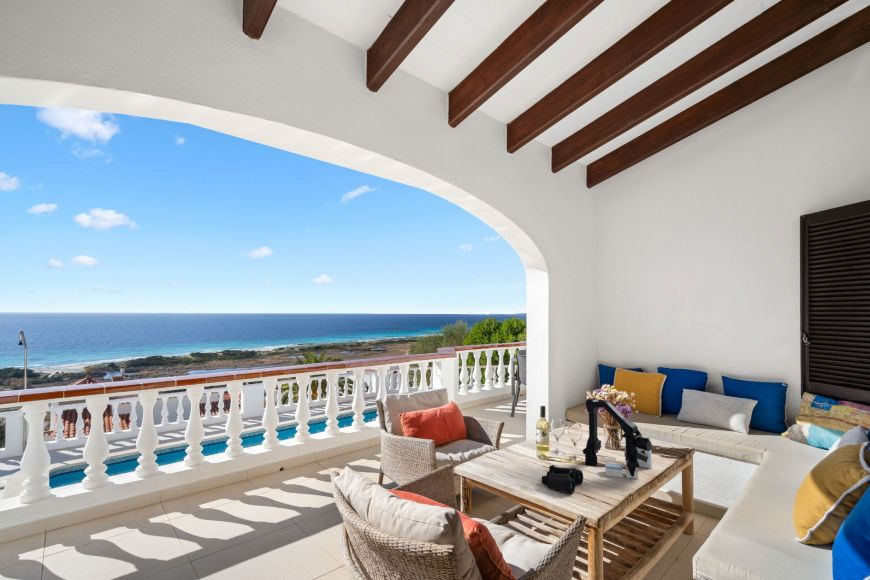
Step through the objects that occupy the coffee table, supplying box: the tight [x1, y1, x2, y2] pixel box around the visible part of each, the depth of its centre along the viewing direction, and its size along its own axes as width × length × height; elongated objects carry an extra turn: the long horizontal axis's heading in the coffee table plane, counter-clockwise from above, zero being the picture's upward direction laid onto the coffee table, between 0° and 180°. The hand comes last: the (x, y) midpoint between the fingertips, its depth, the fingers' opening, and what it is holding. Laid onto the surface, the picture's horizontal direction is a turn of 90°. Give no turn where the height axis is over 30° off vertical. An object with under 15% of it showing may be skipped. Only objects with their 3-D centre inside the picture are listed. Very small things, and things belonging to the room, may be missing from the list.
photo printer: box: [637, 448, 653, 470], centre depth 245 cm, size 10×4×12 cm, turn 43°
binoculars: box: [541, 464, 584, 494], centre depth 220 cm, size 22×19×10 cm
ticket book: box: [604, 462, 626, 478], centre depth 233 cm, size 10×6×5 cm, turn 69°
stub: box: [625, 464, 639, 480], centre depth 229 cm, size 6×5×5 cm
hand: (632, 474), depth 229 cm, fingers closed on stub, 5 cm apart
